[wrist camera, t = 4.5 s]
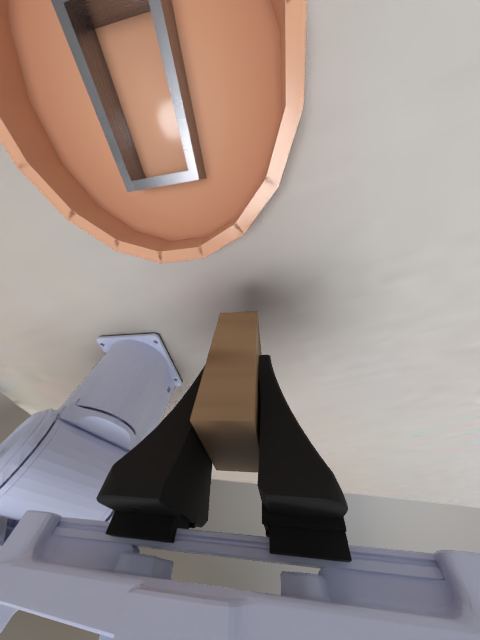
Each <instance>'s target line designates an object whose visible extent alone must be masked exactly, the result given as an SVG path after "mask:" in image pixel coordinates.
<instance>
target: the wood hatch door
mask: <svg viewBox="0 0 480 640" xmlns="http://www.w3.org/2000/svg"><path fill="white" fill-rule="evenodd" d="M259 355H261V344H260V334H259V324H258V314H257V311H250V312H234V313H220V316H219V319H218V323H217V326H216V330H215V333H214V337H213V340H212V344H211V347H210V351H209V354H208V358H207V361H206V365H205V368H204V372H203V375H202V379H201V382H200V386H199V389H198V393H197V396H196V400H195V403H194V407H193V410H192V414H191V418H190V422H191V424H192V426H193V427H194V429H195V431H196V433H197V435H198V437H199V439H200V440H201V442H202V444H203V446H204V448H205V450H206V452H207V454H208V455H209V457H210V459H211V461H212V463H213V465H214V467H215V468H216V470H222V471H241V472H258V469H259V447H260V415H261V397H260V385H259V374H258V363H259Z"/></svg>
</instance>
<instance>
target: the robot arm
mask: <svg viewBox="0 0 480 640" xmlns="http://www.w3.org/2000/svg"><path fill="white" fill-rule="evenodd" d="M96 341H97V343H98V344H99V345H100V347H101V348H102V349H103V351H104V352H105V353H106V354H105V355H104V356H103V358H102V359H101V360H100V361H99V362H98V364H97V365H96V366H95V367H94V368H93V369H92V371H91V372H90V373H89V374H88V375H87V377H86V378H85V379H84V380H83V381H82V383H81V384H80V385H79V386H78V387H77V389H76V390H75V391H74V392H73V393H72V395H71V396H70V397H69V398H68V399H67V400H66V402H65V403H64V404H63V405H62V406H61V408H60V409H58V410H53V409H47V410H45V411H41V412H37V413H35V414H33V415H32V416H31V417H29V418H28V419H27V420H26V421H25V422H23V423H22V424H21V425H20V426H19V427H18V428H17V429H16V430H15V431H14V432H13V433H12V434H11V435H10V436H8V437H7V438H6V439H5V440H4V441H3V442H2V443H1V444H0V633H1V632H2V630H3V629H4V627H5V626H6V624H7V623H8V621H9V620H10V618H11V617H12V616H13V614H14V613H15V612H16V611H18V610H23V611H26V612H29V613H32V614H36V615H39V616H42V617H45V618H49V619H52V620H56V621H59V622H62V623H65V624H68V625H72V626H75V627H78V628H81V629H85V630H88V631H91V632H94V633H98V634H100V637H99V640H480V553H474V552H463V551H454V550H440V551H436V552H435V553H424V552H413V551H404V550H393V549H382V548H373V547H363V546H353V545H348V541H347V537H346V533H345V532H346V526H345V522H344V515H345V514H346V512H347V510H348V506H347V503H346V500H345V498H344V495H343V492H342V490H341V488H340V486H339V484H338V482H337V480H336V478H335V476H334V474H333V472H332V471H331V470H330V468H329V467H328V466H327V464H326V463H325V462H324V460H323V459H322V458H321V456H320V455H319V454H318V452H317V451H316V449H315V448H314V446H313V445H312V444H311V442H310V441H309V439H308V438H307V436H306V434H305V433H304V431H303V430H302V428H301V427H300V425H299V423H298V422H297V420H296V418H295V417H294V415H293V413H292V411H291V410H290V408H289V406H288V404H287V402H286V400H285V398H284V396H283V394H282V391H281V389H280V387H279V384H278V382H277V379H276V377H275V374H274V371H273V368H272V364H271V359H270V356H269V355H259V363H258V374H259V385H260V397H261V415H260V447H259V469H258V489H259V492H260V496H261V500H262V524H264V526H265V530H266V536H267V537H261V536H251V535H241V534H230V533H221V532H210V531H201V530H190V529H189V528H195V527H203V526H204V525H205V523H206V522H207V521H208V510H209V496H210V484H211V472H212V461H211V459H210V457H209V455H208V454H207V452H206V450H205V448H204V446H203V444H202V442H201V440H200V439H199V437H198V435H197V433H196V431H195V429H194V427H193V426H192V424H191V422H190V418H191V414H192V410H193V407H194V403H195V400H196V396H197V393H198V389H199V386H200V382H201V379H202V375H203V372H204V368H205V366H204V367H203V369H202V371H201V372H200V374H199V375H198V377H197V378H196V380H195V381H194V383H193V384H192V386H191V387H190V388H189V390H188V391H187V392H186V394H185V395H184V396H183V398H182V399H181V400H180V401H179V403H178V404H177V405H176V406H175V407H174V409H173V410H172V411H171V412H170V413H169V414H168V415H167V416H166V417H165V418H164V420H163V421H162V422H161V420H162V418H163V415H164V413H165V410H166V408H167V405H168V403H169V400H170V398H171V395H172V393H173V390H174V387H175V386H181V385H182V381H181V379H180V377H179V375H178V373H177V371H176V369H175V367H174V365H173V363H172V361H171V359H170V357H169V355H168V353H167V351H166V349H165V347H164V345H163V343H162V341H161V339H160V337H159V336H158V335H157V334H138V335H121V336H104V337H98V338H97V339H96ZM205 365H206V364H205ZM138 547H142V548H150V549H159V550H168V551H177V552H185V553H193V554H202V555H211V556H219V557H228V558H236V559H246V560H253V561H262V562H271V563H279V564H287V565H297V566H305V567H314V568H322V569H321V570H320V571H319V573H318V575H317V574H311V573H300V572H284V571H282V573H281V595H274V594H268V593H261V592H254V591H246V590H239V589H232V588H225V587H217V586H211V585H203V584H196V583H189V582H182V581H174V580H171V573H172V568H173V564H174V563H173V561H170V560H165V559H162V558H158V557H156V556H152V555H146V554H140V553H139V548H138Z"/></svg>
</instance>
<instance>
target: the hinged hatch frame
mask: <svg viewBox="0 0 480 640" xmlns="http://www.w3.org/2000/svg"><path fill="white" fill-rule="evenodd" d="M51 2H52V4H53V7H54V9H55V12H56V14H57V17H58V19H59V22H60V24H61V27H62V29H63V32H64V34H65V37H66V40H67V42H68V45H69V47H70V50H71V52H72V55H73V57H74V60H75V62H76V65H77V67H78V70H79V72H80V75H81V77H82V80H83V82H84V85H85V87H86V90H87V92H88V95H89V97H90V100H91V102H92V105H93V107H94V110H95V112H96V115H97V117H98V120H99V122H100V125H101V127H102V130H103V132H104V135H105V137H106V140H107V142H108V145H109V147H110V150H111V152H112V155H113V157H114V160H115V162H116V165H117V167H118V170H119V172H120V175H121V177H122V180H123V182H124V185H125V187H126V190H127V192H132V191H138V190H143V189H149V188H155V187H160V186H166V185H172V184H177V183H183V182H189V181H194V180H200V179H206V173H205V168H204V163H203V158H202V153H201V148H200V143H199V138H198V132H197V127H196V122H195V117H194V112H193V107H192V102H191V97H190V92H189V87H188V82H187V77H186V72H185V66H184V61H183V56H182V51H181V46H180V41H179V36H178V31H177V26H176V21H175V16H174V11H173V6H172V0H51ZM149 11H151V14H152V18H153V22H154V27H155V31H156V35H157V39H158V44H159V48H160V52H161V56H162V61H163V65H164V69H165V73H166V78H167V82H168V86H169V90H170V95H171V99H172V103H173V107H174V111H175V116H176V120H177V124H178V128H179V133H180V137H181V141H182V145H183V150H184V154H185V158H186V162H187V167H188V171H183V172H178V173H172V174H167V175H162V176H156V177H151V178H146V177H145V174H144V171H143V168H142V166H141V163H140V160H139V157H138V154H137V151H136V148H135V145H134V142H133V139H132V136H131V133H130V130H129V127H128V125H127V122H126V119H125V116H124V113H123V110H122V107H121V104H120V101H119V98H118V95H117V92H116V89H115V87H114V84H113V81H112V78H111V75H110V72H109V69H108V66H107V63H106V60H105V57H104V54H103V51H102V49H101V46H100V43H99V40H98V37H97V34H96V31H95V29H96V28H99V27H103V26H106V25H109V24H112V23H115V22H118V21H121V20H124V19H127V18H131V17H134V16H137V15H140V14H143V13H146V12H149Z"/></svg>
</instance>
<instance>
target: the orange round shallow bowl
mask: <svg viewBox="0 0 480 640" xmlns="http://www.w3.org/2000/svg"><path fill="white" fill-rule="evenodd" d="M172 6H173V11H174V16H175V21H176V26H177V31H178V36H179V41H180V46H181V51H182V56H183V61H184V66H185V72H186V77H187V82H188V87H189V92H190V97H191V102H192V107H193V112H194V117H195V122H196V127H197V132H198V138H199V143H200V148H201V153H202V158H203V163H204V168H205V173H206V179H200V180H194V181H189V182H183V183H177V184H172V185H166V186H160V187H155V188H149V189H143V190H138V191H132V192H127V190H126V187H125V185H124V182H123V180H122V177H121V175H120V172H119V170H118V167H117V165H116V162H115V160H114V157H113V155H112V152H111V150H110V147H109V145H108V142H107V140H106V137H105V135H104V132H103V130H102V127H101V125H100V122H99V120H98V117H97V115H96V112H95V110H94V107H93V105H92V102H91V100H90V97H89V95H88V92H87V90H86V87H85V85H84V82H83V80H82V77H81V75H80V72H79V70H78V67H77V65H76V62H75V60H74V57H73V55H72V52H71V50H70V47H69V45H68V42H67V40H66V37H65V34H64V32H63V29H62V27H61V24H60V22H59V19H58V17H57V14H56V12H55V9H54V7H53V4H52V2H51V0H0V141H1V142H2V144H3V146H4V147H5V149H6V150H7V152H8V153H9V155H10V157H11V158H12V160H13V161H14V163H15V165H16V166H17V168H18V169H19V170H20V171H21V172H22V173H23V174H24V175H25V176H26V177H27V178H28V179H29V180H30V181H31V182H32V183H33V184H34V185H35V187H36V188H37V189H38V190H39V191H40V192H41V193H42V194H43V195H44V196H45V197H46V198H47V199H48V200H49V201H50V202H51V203H52V204H53V205H54V206H55V207H56V208H57V209H58V210H59V211H60V212H61V213H62V215H63V216H64V217H65V218H66V219H67V220H68V221H70V222H72V223H73V224H75V225H76V226H78V227H79V228H81V229H83V230H84V231H86V232H87V233H89V234H90V235H92V236H94V237H95V238H97V239H98V240H100V241H101V242H103V243H105V244H106V245H108V246H109V247H111V248H113V249H114V250H116V251H118V252H122V253H126V254H130V255H133V256H137V257H141V258H144V259H148V260H152V261H155V262H159V263H167V262H176V261H184V260H193V259H202V258H205V257H207V256H209V255H210V254H212V253H214V252H215V251H217V250H219V249H220V248H222V247H224V246H225V245H227V244H229V243H230V242H232V241H234V240H235V239H237V238H239V237H240V236H242V235H244V233H245V232H246V230H247V229H248V228H249V226H250V225H251V224H252V222H253V221H254V220H255V218H256V217H257V215H258V214H259V213H260V211H261V210H262V209H263V207H264V206H265V204H266V203H267V202H268V200H269V199H270V198H271V196H272V195H273V194H274V192H275V191H276V189H277V188H278V187H279V184H280V181H281V178H282V174H283V171H284V168H285V165H286V161H287V158H288V155H289V152H290V149H291V145H292V142H293V139H294V136H295V133H296V129H297V126H298V123H299V120H300V117H301V113H302V110H303V107H304V80H305V47H306V14H307V0H172ZM95 31H96V34H97V37H98V40H99V43H100V46H101V49H102V51H103V54H104V57H105V60H106V63H107V66H108V69H109V72H110V75H111V78H112V81H113V84H114V87H115V89H116V92H117V95H118V98H119V101H120V104H121V107H122V110H123V113H124V116H125V119H126V122H127V125H128V127H129V130H130V133H131V136H132V139H133V142H134V145H135V148H136V151H137V154H138V157H139V160H140V163H141V166H142V168H143V171H144V174H145V177H146V178H151V177H156V176H162V175H167V174H172V173H178V172H183V171H188V167H187V162H186V158H185V154H184V150H183V145H182V141H181V137H180V133H179V128H178V124H177V120H176V116H175V111H174V107H173V103H172V99H171V95H170V90H169V86H168V82H167V78H166V73H165V69H164V65H163V61H162V56H161V52H160V48H159V44H158V39H157V35H156V31H155V27H154V22H153V18H152V14H151V11H149V12H146V13H143V14H140V15H137V16H134V17H131V18H127V19H124V20H121V21H118V22H115V23H112V24H109V25H106V26H103V27H99V28H96V29H95Z"/></svg>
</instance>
